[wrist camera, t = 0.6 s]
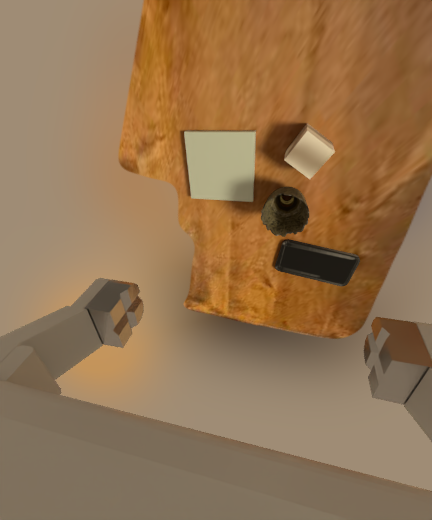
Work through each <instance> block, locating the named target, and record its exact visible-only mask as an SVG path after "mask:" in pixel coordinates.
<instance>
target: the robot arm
mask: <svg viewBox="0 0 432 520" xmlns="http://www.w3.org/2000/svg"><path fill="white" fill-rule="evenodd" d="M139 292H140V290H139V287H138V285H137V284H135V283H129V282H123V281H117V280H109V279H103V278H99V279H97V280H95V281H94V282H93V284H92V285H91V286H90V287H89V288H88V289H87V290H86V291H85V292H84V293H83V294H82V295H81V296H80V297H79V298H78V299H77V300H76V302H75V303H74V304H73V305H72V306H66V307H64V308H62V309H60V310H57V311H55V312H53V313H51V314H49V315H47V316H44V317H42V318H40V319H38V320H36V321H34V322H32V323H30V324H27V325H25V326H23V327H21V328H19V329H16V330H14V331H12V332H10V333H8V334H6V335H4V336H1V337H0V520H432V491H430V490H426V489H422V488H418V487H414V486H410V485H406V484H402V483H398V482H395V481H391V480H387V479H383V478H379V477H375V476H372V475H368V474H363V473H360V472H356V471H352V470H348V469H344V468H341V467H337V466H332V465H328V464H325V463H321V462H317V461H314V460H309V459H306V458H302V457H298V456H294V455H290V454H286V453H282V452H278V451H275V450H271V449H267V448H263V447H259V446H256V445H252V444H247V443H244V442H240V441H236V440H232V439H228V438H225V437H221V436H217V435H213V434H209V433H205V432H201V431H198V430H194V429H190V428H186V427H182V426H178V425H174V424H170V423H166V422H163V421H159V420H155V419H151V418H147V417H143V416H139V415H136V414H132V413H128V412H124V411H120V410H116V409H112V408H108V407H104V406H101V405H97V404H93V403H89V402H85V401H81V400H77V399H73V398H69V397H66V396H61V395H60V394H61V388H60V387H59V386H58V384H57V383H56V381H55V379H57V378H58V377H60V376H61V375H62V374H64V373H65V372H66V371H68V370H69V369H71V368H72V367H73V366H75V365H76V364H78V363H79V362H80V361H82V360H83V359H84V358H86V357H87V356H89V355H90V354H91V353H93V352H94V351H96V350H97V349H98V348H100V347H101V346H102V344H104V345H110V346H116V347H122V348H123V347H124V346H125V344H126V343H127V341H128V339H129V337H130V336H131V335H132V329H131V328H132V327H134V326H136V325H137V324H138V323H139V321H140V320H141V318H142V314H143V301H142V300H141V299H140V298H139V297H138V294H139ZM371 326H372V330H373V332H372V333H370V334H368V335H367V338H366V340H365V345H364V359H365V364H366V365H367V366H368V368H369V369H370V370H371V372H370V374H369V377H368V379H369V384H370V388H371V393H372V397H373V398H376V399H381V400H386V401H390V402H394V403H399V404H403V405H404V407H405V408H406V409H407V411H408V412H409V413H410V414H411V416H412V417H413V418H414V420H415V421H416V422H417V423H418V425H419V426H420V427H421V429H422V430H423V431H424V432H425V434H426V435H427V436H428V437H429V439H430V440H431V441H432V324H426V323H419V322H410V321H403V320H395V319H388V318H380V317H376V318H375V319H374V320H373V322H372V325H371Z"/></svg>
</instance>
